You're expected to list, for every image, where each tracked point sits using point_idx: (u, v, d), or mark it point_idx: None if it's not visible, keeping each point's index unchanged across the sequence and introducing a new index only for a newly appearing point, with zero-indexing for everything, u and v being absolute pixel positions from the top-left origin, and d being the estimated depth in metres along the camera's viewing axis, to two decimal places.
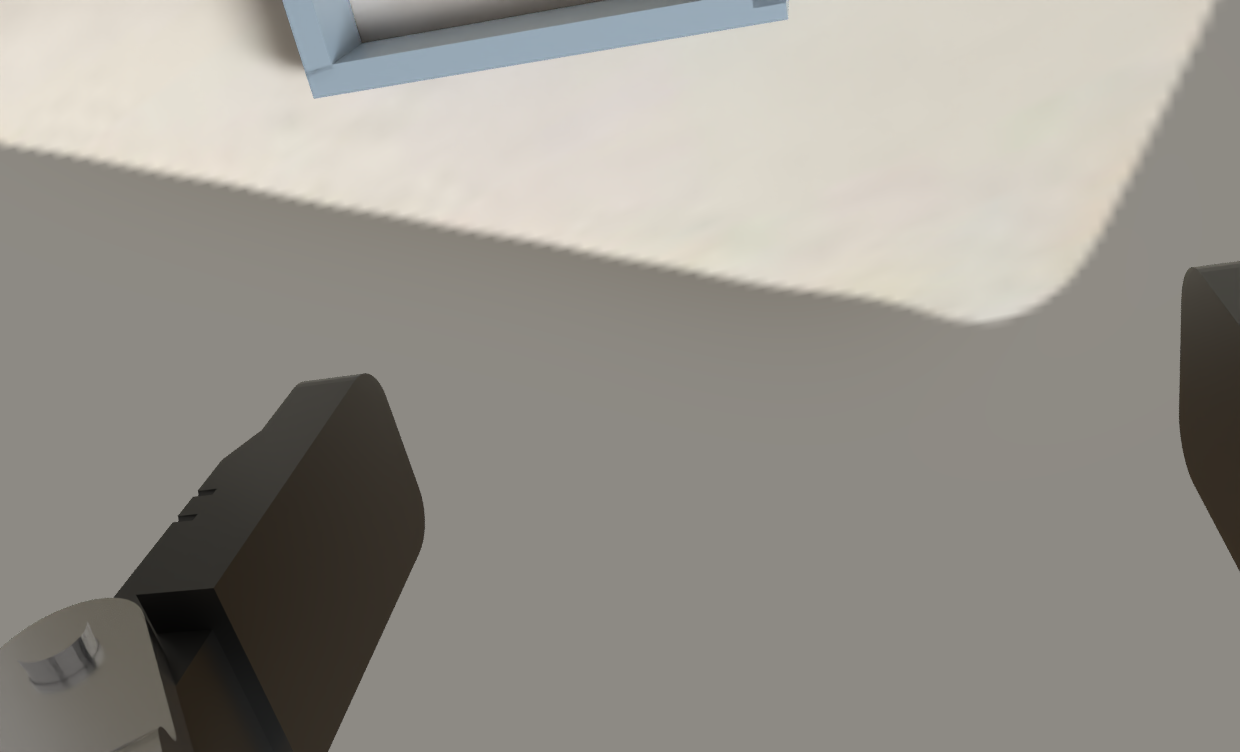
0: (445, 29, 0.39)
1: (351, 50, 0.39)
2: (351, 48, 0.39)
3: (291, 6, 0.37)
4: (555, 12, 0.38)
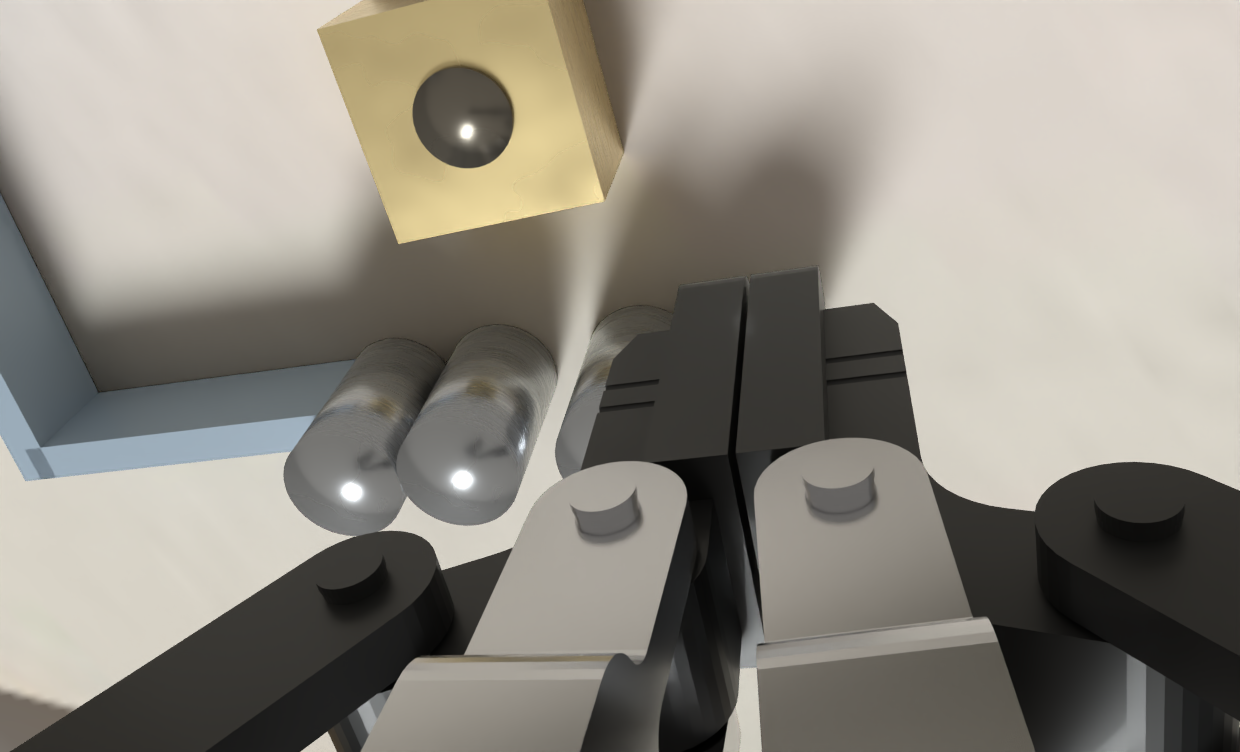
0: None
1: None
2: None
3: None
4: None
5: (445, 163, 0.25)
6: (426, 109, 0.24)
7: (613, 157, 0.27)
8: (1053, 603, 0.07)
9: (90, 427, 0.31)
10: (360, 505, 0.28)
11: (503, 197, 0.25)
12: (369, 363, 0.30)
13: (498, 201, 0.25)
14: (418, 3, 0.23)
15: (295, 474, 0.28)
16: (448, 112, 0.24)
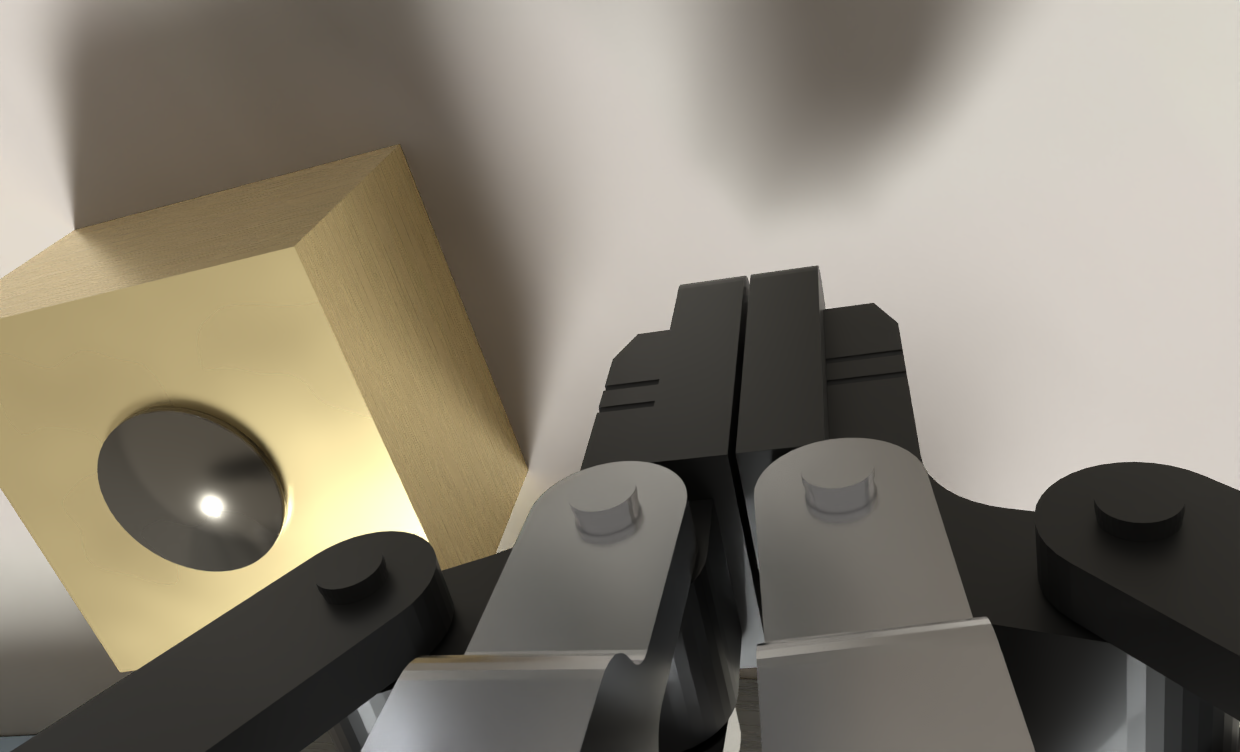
0: None
1: None
2: None
3: None
4: None
5: (174, 560, 0.14)
6: (126, 475, 0.13)
7: (499, 503, 0.15)
8: (1053, 603, 0.07)
9: None
10: None
11: None
12: None
13: None
14: (77, 300, 0.12)
15: None
16: (167, 479, 0.13)
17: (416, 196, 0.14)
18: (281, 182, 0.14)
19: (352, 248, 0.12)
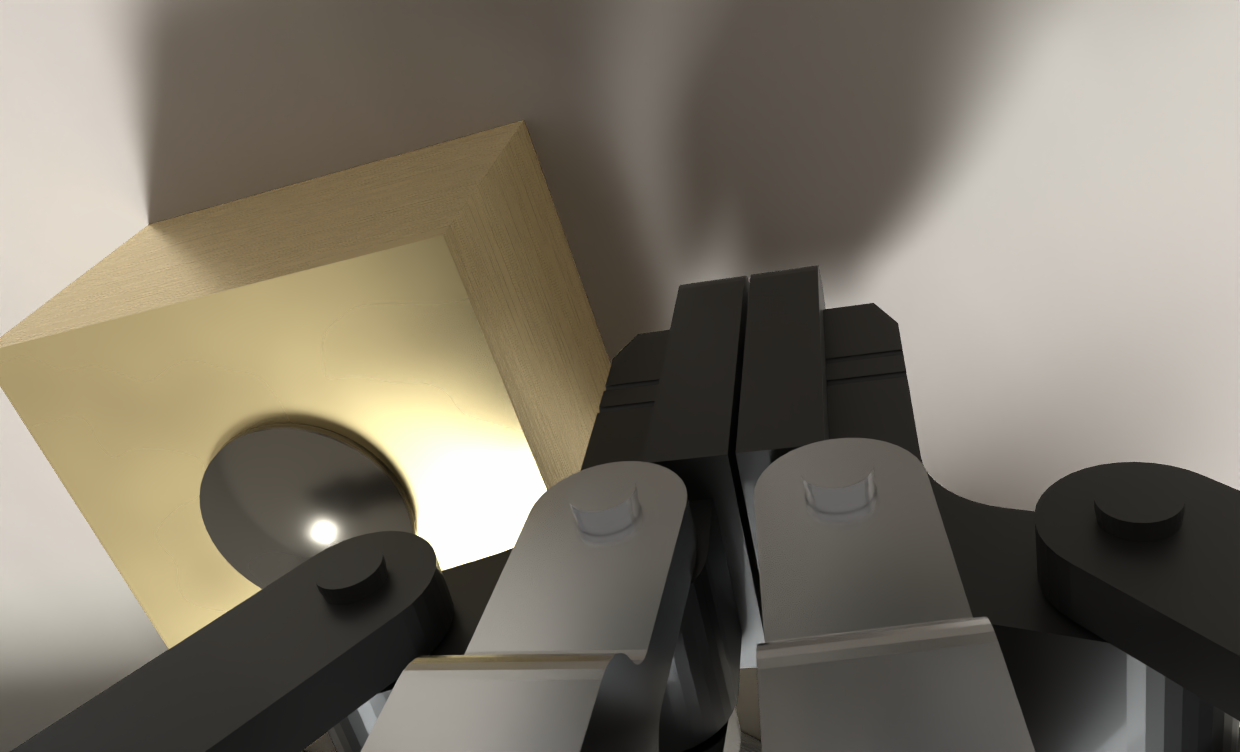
0: None
1: None
2: None
3: None
4: None
5: None
6: (232, 500, 0.11)
7: None
8: (1053, 602, 0.07)
9: None
10: None
11: None
12: None
13: None
14: (182, 303, 0.10)
15: None
16: (278, 506, 0.11)
17: (542, 179, 0.13)
18: (390, 166, 0.13)
19: (493, 237, 0.11)
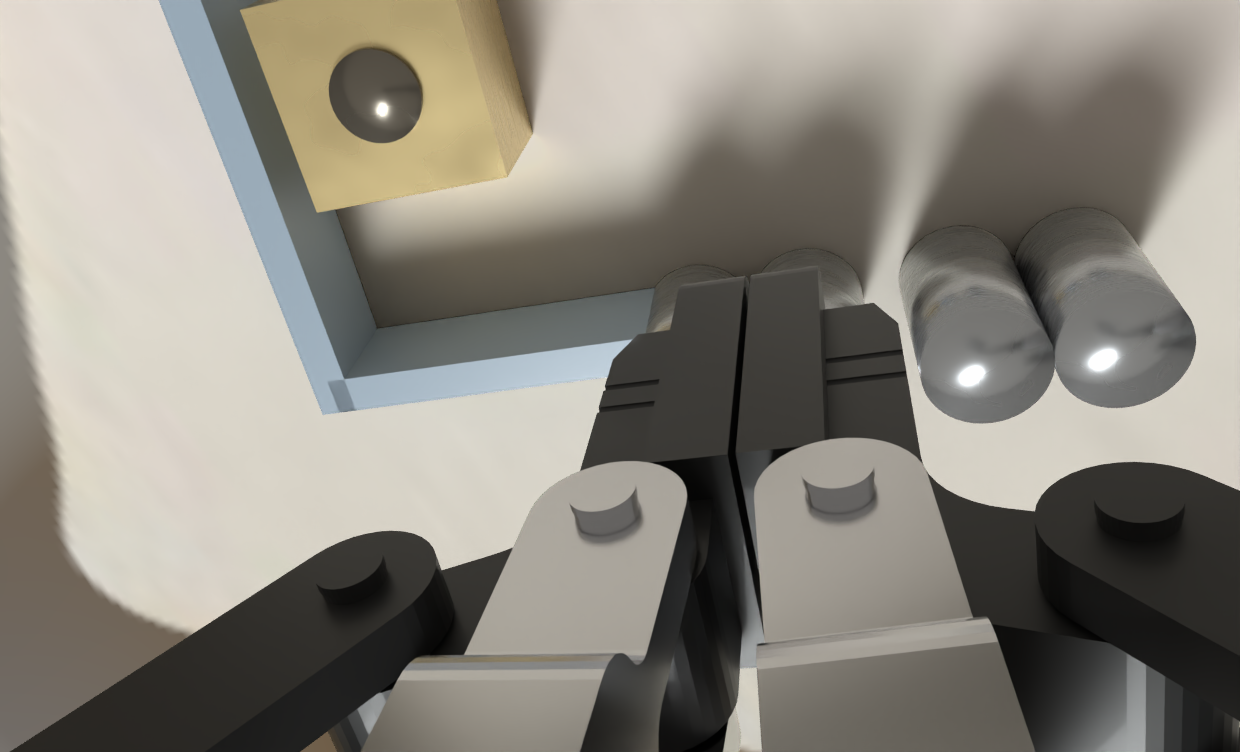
0: None
1: None
2: None
3: None
4: None
5: (359, 138, 0.27)
6: (342, 87, 0.26)
7: (520, 137, 0.29)
8: (1053, 602, 0.07)
9: (390, 359, 0.31)
10: None
11: (414, 171, 0.27)
12: None
13: (409, 175, 0.27)
14: None
15: None
16: (363, 90, 0.26)
17: None
18: None
19: None
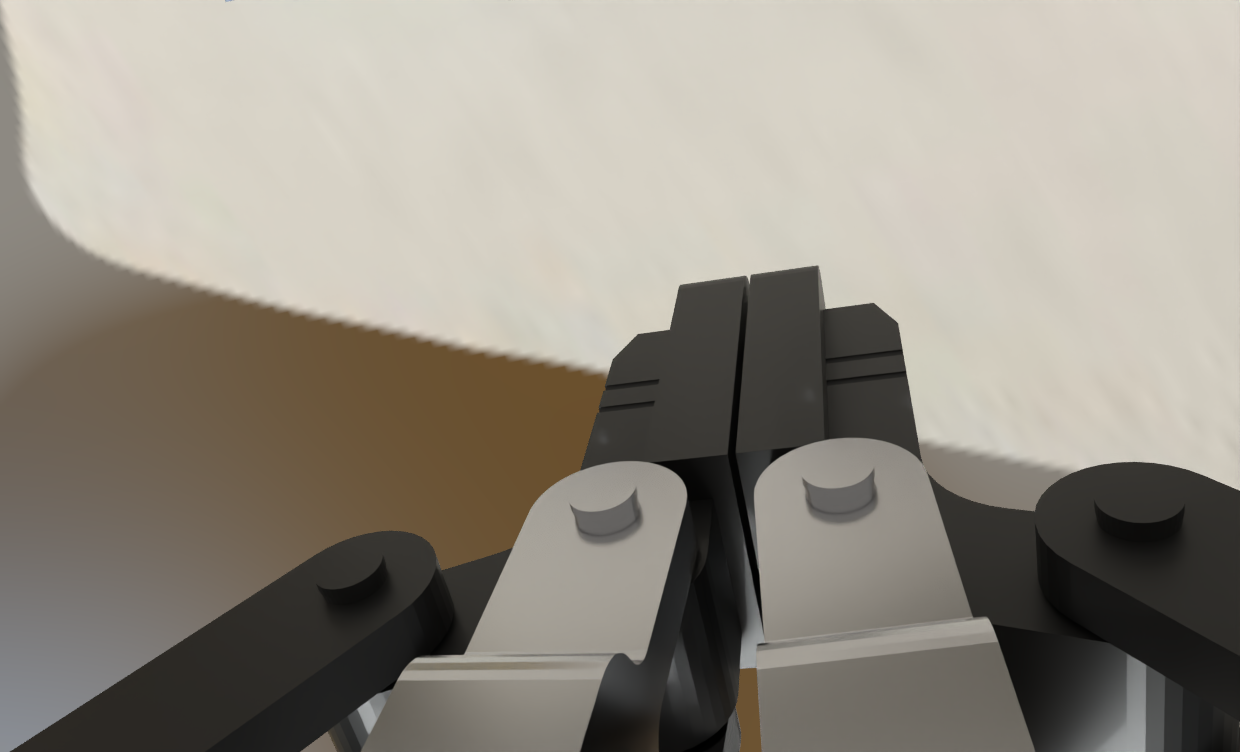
0: None
1: None
2: None
3: None
4: None
5: None
6: None
7: None
8: (1053, 603, 0.07)
9: None
10: None
11: None
12: None
13: None
14: None
15: None
16: None
17: None
18: None
19: None
